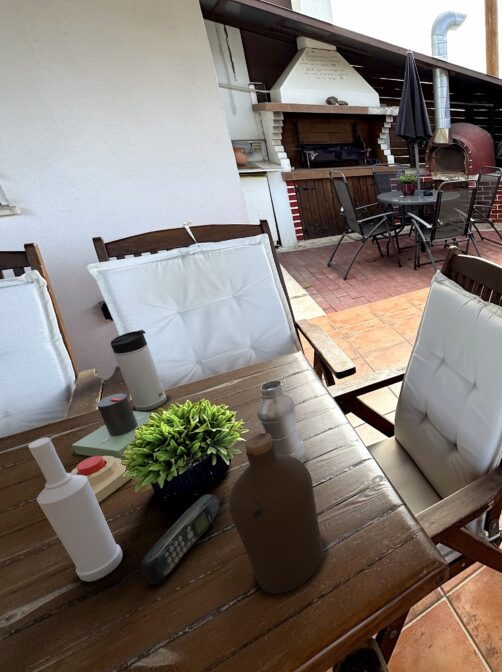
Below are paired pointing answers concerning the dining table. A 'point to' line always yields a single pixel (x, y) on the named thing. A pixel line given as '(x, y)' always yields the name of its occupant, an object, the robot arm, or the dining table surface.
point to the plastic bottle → (280, 420)
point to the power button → (90, 465)
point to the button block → (106, 477)
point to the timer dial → (117, 414)
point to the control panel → (108, 440)
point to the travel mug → (138, 370)
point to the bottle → (75, 515)
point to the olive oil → (276, 517)
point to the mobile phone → (179, 539)
